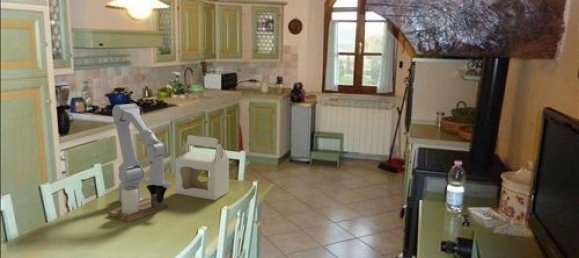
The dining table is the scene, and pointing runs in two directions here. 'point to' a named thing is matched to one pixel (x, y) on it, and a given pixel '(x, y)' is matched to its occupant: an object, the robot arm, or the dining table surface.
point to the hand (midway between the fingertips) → (157, 201)
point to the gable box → (212, 163)
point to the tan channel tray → (140, 209)
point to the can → (129, 200)
